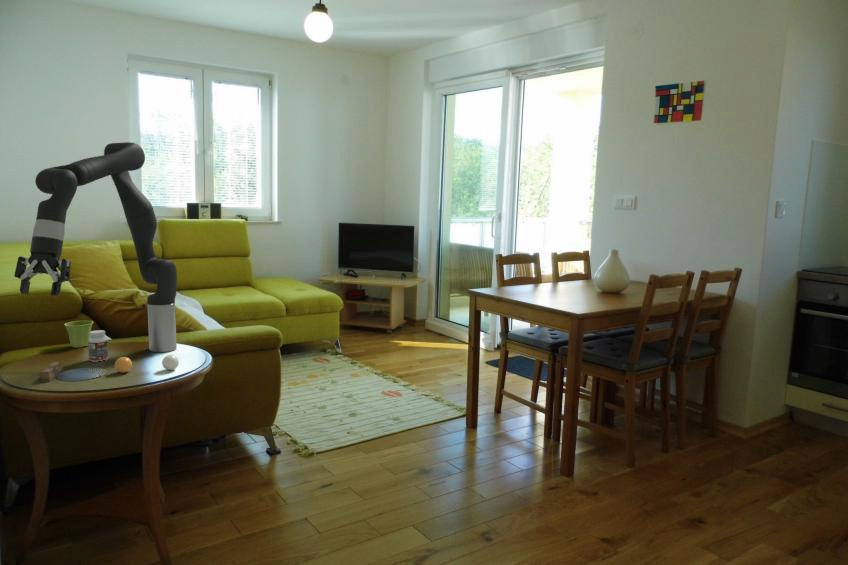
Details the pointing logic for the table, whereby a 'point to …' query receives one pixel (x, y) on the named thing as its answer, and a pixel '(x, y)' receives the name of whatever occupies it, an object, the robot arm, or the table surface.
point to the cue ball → (170, 362)
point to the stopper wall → (51, 371)
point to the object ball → (123, 364)
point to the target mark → (78, 374)
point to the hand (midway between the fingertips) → (39, 295)
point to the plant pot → (79, 332)
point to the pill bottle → (98, 346)
